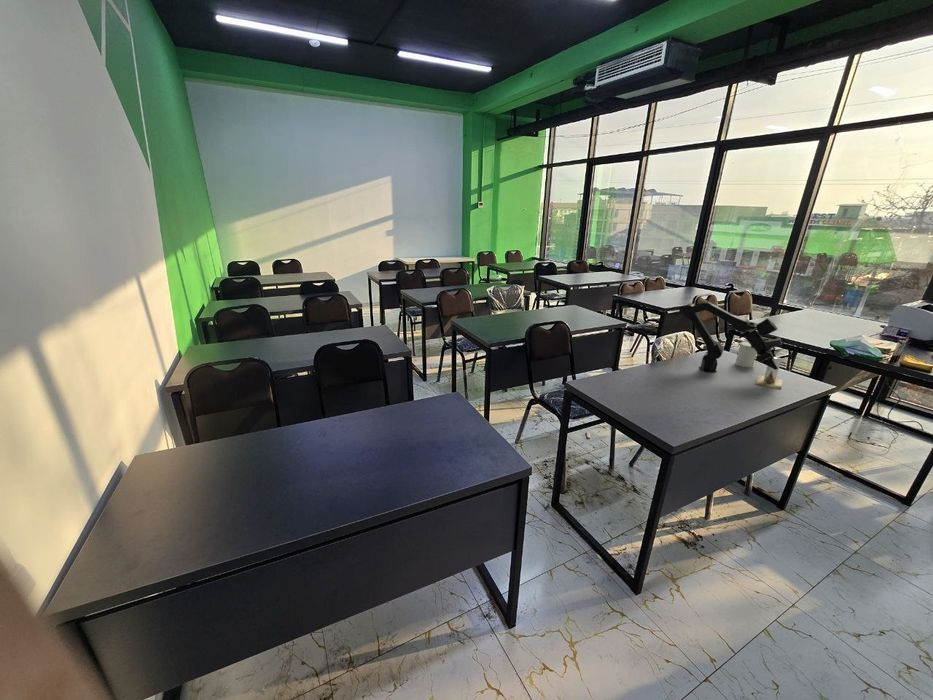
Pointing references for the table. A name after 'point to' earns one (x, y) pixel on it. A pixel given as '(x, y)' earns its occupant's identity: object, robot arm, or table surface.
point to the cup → (746, 355)
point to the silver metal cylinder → (772, 371)
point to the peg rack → (769, 382)
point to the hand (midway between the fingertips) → (777, 366)
